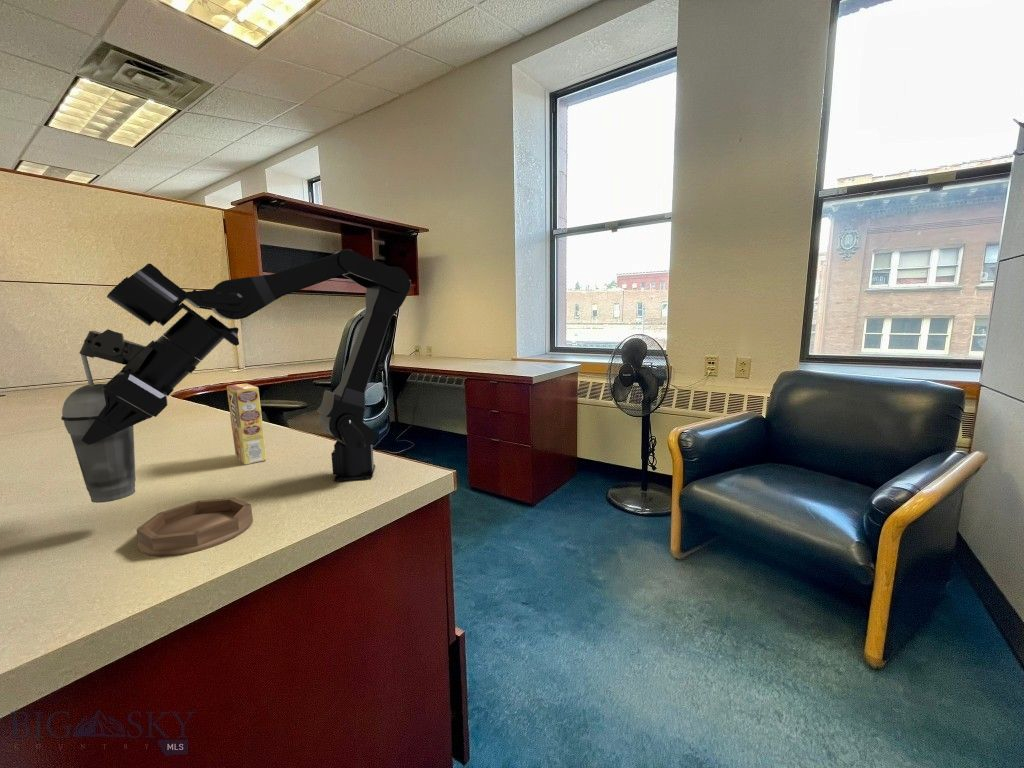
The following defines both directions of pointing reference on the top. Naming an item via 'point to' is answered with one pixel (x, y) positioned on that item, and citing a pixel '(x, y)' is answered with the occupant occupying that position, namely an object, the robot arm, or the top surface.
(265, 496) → the top surface
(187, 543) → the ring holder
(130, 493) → the beverage cup
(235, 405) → the candy box
